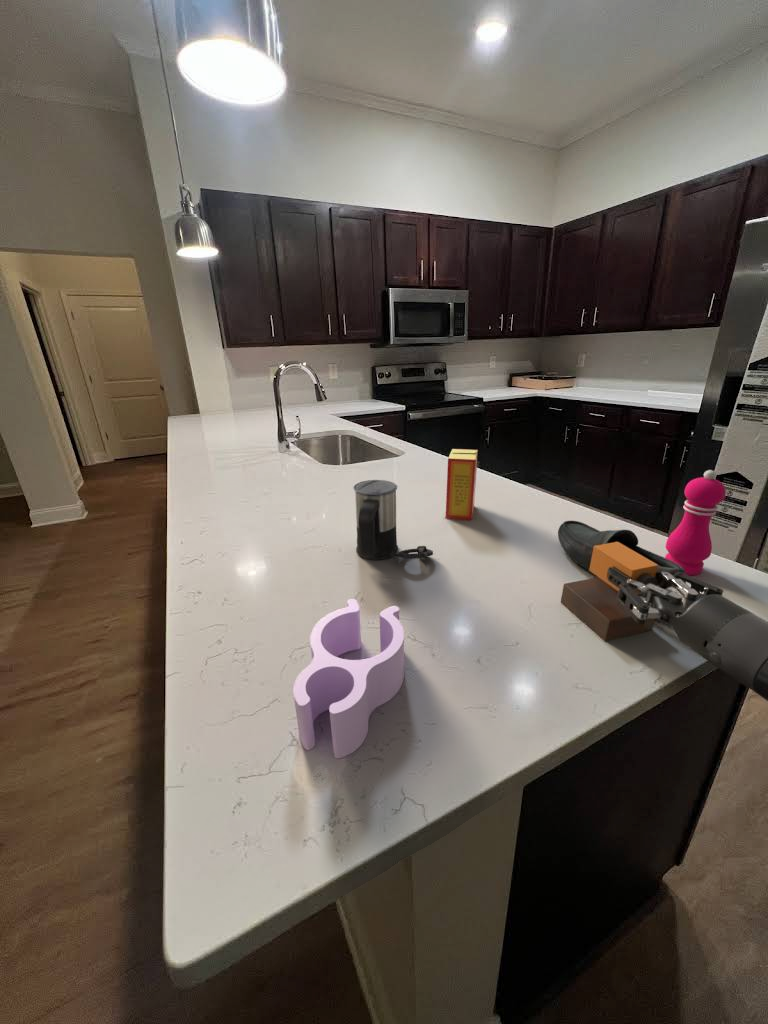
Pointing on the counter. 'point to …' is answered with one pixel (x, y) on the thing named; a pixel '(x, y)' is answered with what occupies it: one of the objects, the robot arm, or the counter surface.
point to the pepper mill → (696, 524)
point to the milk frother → (379, 522)
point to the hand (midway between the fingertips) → (623, 569)
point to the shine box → (601, 609)
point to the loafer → (583, 539)
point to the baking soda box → (461, 483)
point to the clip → (348, 677)
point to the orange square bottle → (622, 564)
